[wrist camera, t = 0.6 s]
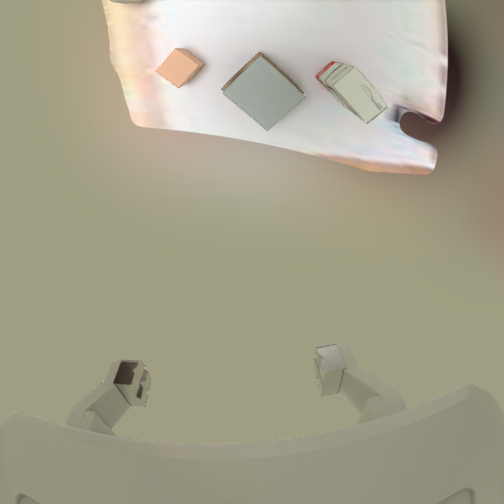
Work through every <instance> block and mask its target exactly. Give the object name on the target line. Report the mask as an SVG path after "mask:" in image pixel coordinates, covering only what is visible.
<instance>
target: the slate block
mask: <svg viewBox="0 0 504 504" xmlns="http://www.w3.org/2000/svg"><path fill="white" fill-rule="evenodd" d="M223 94H224V95H225V96H226V97H227V98H229V99H230V100H231V101H232V102H234V103H235V104H236V105H237V106H239V107H240V108H241V109H242V110H243V111H245V112H246V113H247V114H248V115H249V116H250V117H252V118H253V119H254V120H255V121H256V122H257V123H259V124H260V125H261V126H262V127H263V128H264V129H265V130H267V131H268V130H269V129H271V128H272V127H273V126H274V125H275V124H276V123H277V122H278V121H279V120H280V119H281V118H282V117H284V116H285V115H286V114H287V113H288V112H289V111H290V110H291V109H292V108H294V107H295V106H296V105H297V104H298V103H299V102H300V101H302V100H303V99H304V98H305V96H304V95H303V94H302V93H301V92H300V91H299V90H298V89H297V88H296V87H295V86H294V85H293V84H292V83H291V82H289V81H288V80H287V79H286V78H285V77H284V76H283V75H282V74H281V73H280V72H279V71H277V70H276V69H275V68H274V67H273V66H272V65H271V64H270V63H268V62H267V61H266V60H265V59H264V58H263V57H261V56H259V57H258V58H257V59H256V60H255V61H254V62H253V63H252V64H251V65H249V66H248V67H247V68H246V69H245V70H244V71H243V72H242V73H241V74H240V75H239V76H238V77H237V78H236V79H235V80H234V81H233V82H232V83H231V84H230V85H229V86H228V87H227V88H226V89H225V91H224V93H223Z"/></svg>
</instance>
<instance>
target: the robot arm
mask: <svg viewBox="0 0 504 504" xmlns="http://www.w3.org/2000/svg"><path fill="white" fill-rule="evenodd" d="M315 356H316V358H315V359H314V371H315V376H316V378H317V379H318V380H319V381H318V387H319V391H320V394H321V396H325V395H331V394H337V393H339V395H340V396H342V397H343V398H344V399H345V400H346V401H347V402H348V403H349V404H351V405H352V406H353V407H354V408H355V409H356V410H357V411H359V412H360V413H361V416H360V418H359V421H358V423H357V424H356V425H353V426H349V427H344V428H341V429H336V430H331V431H326V432H321V433H316V434H310V435H305V436H299V437H292V438H284V439H276V440H268V441H255V442H242V443H241V442H240V443H212V444H211V443H175V442H161V441H150V440H141V439H133V438H126V437H120V436H117V435H116V434H115V433H114V432H113V431H112V430H111V429H112V427H113V426H114V425H115V424H116V423H117V422H118V421H119V419H120V418H121V417H122V416H123V415H124V414H125V413H126V412H127V410H128V409H129V408H130V407H131V406H145V407H146V403H147V398H148V395H147V393H146V392H147V391H148V390H149V389H150V386H151V378H150V374H149V372H148V371H147V370H145V369H144V366H145V365H144V363H143V362H142V361H138V360H118V359H115V360H113V361H112V363H111V366H110V369H109V371H108V374H107V376H106V379H105V381H104V383H101V384H100V385H98V386H97V387H96V388H95V389H94V390H92V391H91V392H90V393H89V394H87V395H86V396H85V397H84V398H82V399H81V400H80V401H79V402H78V403H76V404H75V405H74V406H73V407H72V409H71V412H70V414H69V417H68V419H67V422H66V424H65V425H64V424H61V423H57V422H53V421H50V420H47V419H44V418H41V417H38V416H35V415H32V414H29V413H27V412H24V411H21V410H17V411H15V412H13V413H11V414H10V415H8V416H7V417H5V418H4V419H3V420H1V421H0V504H504V413H503V411H502V409H501V407H500V405H499V404H498V402H497V400H496V399H495V397H494V396H493V395H492V394H491V393H490V392H488V391H486V390H484V389H482V388H480V387H478V386H475V385H473V384H464V385H462V386H460V387H458V388H455V389H453V390H451V391H449V392H447V393H445V394H443V395H440V396H438V397H436V398H433V399H431V400H429V401H426V402H424V403H421V404H419V405H416V406H413V407H411V408H408V409H407V407H406V405H405V403H404V401H403V399H402V396H401V394H400V392H399V390H398V389H397V388H396V387H394V386H392V385H391V384H389V383H387V382H386V381H384V380H382V379H381V378H380V377H378V376H376V375H374V374H373V373H372V372H370V371H368V370H367V369H365V368H363V367H362V366H358V364H357V362H356V359H355V357H354V355H353V353H352V350H351V348H350V346H349V344H348V342H342V343H338V344H332V345H326V346H321V347H316V348H315Z"/></svg>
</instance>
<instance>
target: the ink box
mask: <svg viewBox="0 0 504 504" xmlns="http://www.w3.org/2000/svg"><path fill="white" fill-rule="evenodd" d="M316 78H317V79H318V80H319V81H320V82H321V83H322V84H323V85H324V86H325V87H326V88H327V89H328V90H329V91H330V92H331V93H332V94H333V95H334V96H335V97H336V98H337V99H338V100H339V101H340V102H341V103H342V104H343V105H344V106H345V107H346V108H347V109H349V110H350V111H351V112H353V113H354V114H355V115H356V116H358V117H359V118H360V119H362V120H363V121H364V122H365V123H367V124H368V123H369V122H370V121H372V120H373V119H374V118H376V117H377V116H378V115H379V114H381V113H382V112H383V111H384V110H385V109H387V105H386V102H385V101H384V100H383V99H382V97H381V96H380V95H379V94H378V93H377V91H376V90H375V89H374V87H373V86H372V85H371V84H370V83H369V82H368V81H367V79H366V78H365V77H364V76H363V75H362V74H361V73H360V71H359V70H358V69H357V68H356V67H353V66H350V65H346V64H342V63H338V62H333V61H332V62H331V63H330V64H328V65H327V66H326V67H325V68H324V69H323V70H322V71H321V72H320V73H319V74H317V76H316Z"/></svg>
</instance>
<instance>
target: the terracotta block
mask: <svg viewBox="0 0 504 504" xmlns="http://www.w3.org/2000/svg"><path fill="white" fill-rule="evenodd" d="M203 65H204V63H203V62H201V61H200V60H199V59H197V58H196V57H195V56H193V55H192V54H191V53H189V52H188V51H186V50H185V49H184V48H175V49H174V50H173V51H172V53H171V54H170V55H169V56H168V57H167V58H166V60H165V61H164V62H163V63H162V64H161V66H160V67H159V68H158V69H157V70H156V72H157V73H158V74H160V75H161V76H162V77H164V78H165V79H166V80H168V81H169V82H171V83H172V84H173V85H175V86H176V87H177V88H180V87H181V86H183V85H185V84H186V83H187V82H188V81H189V80H190V79H191V78H192V77H193V76H194V74H195V73H196V72H197V71H198V70H199V69H200V68H201V67H202V66H203Z"/></svg>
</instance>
